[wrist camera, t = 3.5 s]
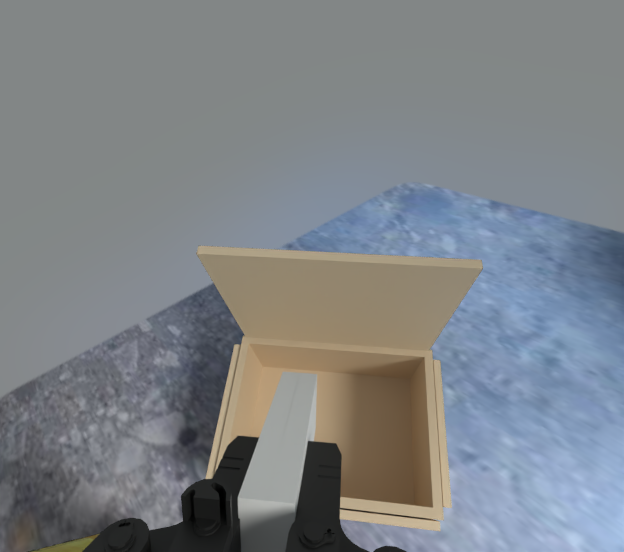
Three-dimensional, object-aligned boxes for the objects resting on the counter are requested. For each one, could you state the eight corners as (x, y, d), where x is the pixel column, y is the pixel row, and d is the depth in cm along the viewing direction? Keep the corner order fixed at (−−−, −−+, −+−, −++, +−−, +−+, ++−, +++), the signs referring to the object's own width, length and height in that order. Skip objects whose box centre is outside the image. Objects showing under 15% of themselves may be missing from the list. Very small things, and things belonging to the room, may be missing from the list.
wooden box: (421, 375, 34) (440, 350, 28) (429, 524, 28) (454, 533, 22) (252, 361, 36) (235, 335, 30) (227, 499, 30) (199, 501, 24)
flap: (428, 343, 28) (481, 258, 18) (428, 350, 28) (482, 268, 18) (247, 330, 30) (199, 244, 19) (245, 336, 29) (196, 253, 19)
